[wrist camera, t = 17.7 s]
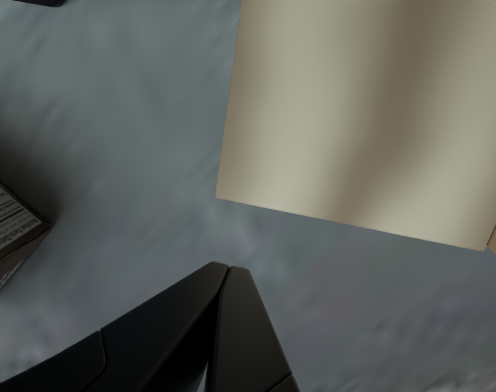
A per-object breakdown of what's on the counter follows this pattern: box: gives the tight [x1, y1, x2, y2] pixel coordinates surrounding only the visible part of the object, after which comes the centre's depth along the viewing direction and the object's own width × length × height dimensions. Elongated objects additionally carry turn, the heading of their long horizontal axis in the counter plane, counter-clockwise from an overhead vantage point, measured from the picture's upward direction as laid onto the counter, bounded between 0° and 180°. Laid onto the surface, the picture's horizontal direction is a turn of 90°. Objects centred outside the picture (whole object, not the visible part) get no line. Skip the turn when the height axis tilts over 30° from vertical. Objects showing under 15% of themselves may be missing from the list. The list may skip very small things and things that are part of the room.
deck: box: [215, 0, 496, 251], centre depth 15 cm, size 12×18×3 cm, turn 171°
